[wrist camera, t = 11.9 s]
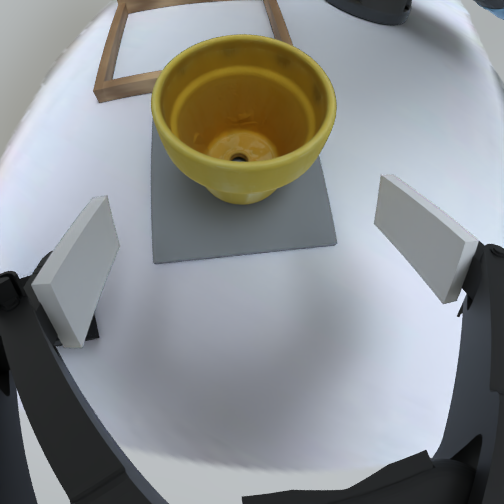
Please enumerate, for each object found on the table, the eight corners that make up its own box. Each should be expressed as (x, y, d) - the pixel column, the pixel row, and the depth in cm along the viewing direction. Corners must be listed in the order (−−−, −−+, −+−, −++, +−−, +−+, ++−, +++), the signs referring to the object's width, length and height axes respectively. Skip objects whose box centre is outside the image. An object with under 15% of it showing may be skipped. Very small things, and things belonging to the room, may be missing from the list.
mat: (303, 103, 27) (304, 99, 27) (334, 245, 24) (337, 243, 24) (154, 114, 26) (153, 110, 26) (155, 264, 23) (153, 262, 23)
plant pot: (151, 194, 24) (111, 123, 14) (215, 102, 26) (211, 18, 17) (270, 253, 23) (295, 205, 14) (321, 148, 26) (359, 71, 16)
